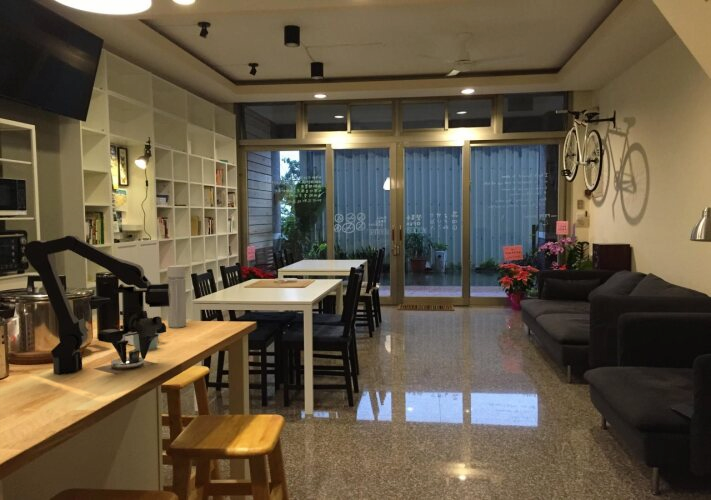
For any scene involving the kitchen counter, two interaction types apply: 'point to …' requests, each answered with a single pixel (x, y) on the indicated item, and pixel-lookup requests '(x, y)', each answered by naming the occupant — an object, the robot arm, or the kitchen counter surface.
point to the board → (118, 371)
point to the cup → (152, 345)
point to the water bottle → (177, 296)
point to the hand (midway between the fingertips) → (134, 361)
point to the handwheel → (128, 361)
